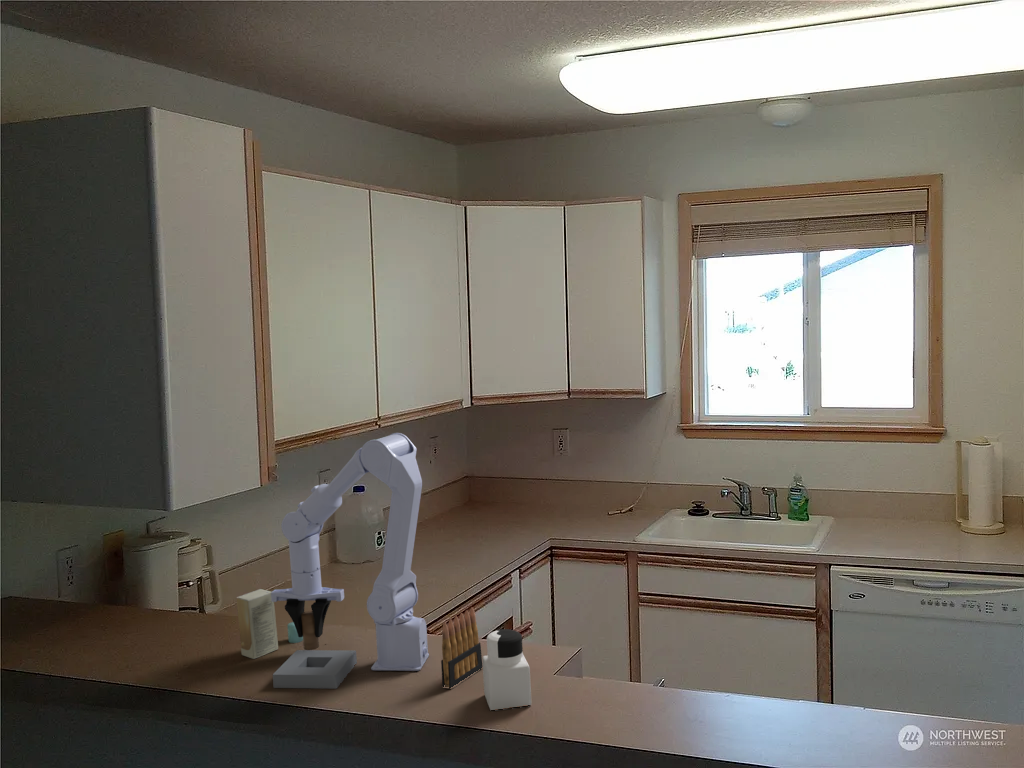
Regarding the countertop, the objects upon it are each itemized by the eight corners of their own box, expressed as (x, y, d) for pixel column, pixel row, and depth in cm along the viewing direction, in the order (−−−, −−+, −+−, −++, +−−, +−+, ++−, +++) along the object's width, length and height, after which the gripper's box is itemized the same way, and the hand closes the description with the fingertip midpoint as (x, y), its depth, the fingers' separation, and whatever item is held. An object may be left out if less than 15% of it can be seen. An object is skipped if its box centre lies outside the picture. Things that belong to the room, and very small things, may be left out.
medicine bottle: (524, 689, 168) (520, 623, 167) (532, 706, 161) (528, 637, 160) (484, 694, 167) (480, 628, 166) (490, 711, 160) (486, 642, 159)
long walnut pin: (321, 644, 192) (318, 610, 191) (315, 650, 189) (313, 615, 188) (306, 644, 193) (304, 610, 192) (301, 650, 190) (299, 615, 189)
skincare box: (266, 645, 196) (261, 587, 195) (279, 649, 194) (274, 591, 193) (239, 655, 192) (235, 596, 190) (252, 660, 189) (248, 600, 188)
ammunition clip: (474, 667, 179) (470, 605, 178) (483, 668, 179) (478, 606, 178) (442, 688, 170) (437, 623, 169) (450, 690, 169) (445, 624, 168)
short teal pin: (305, 637, 200) (304, 621, 200) (300, 643, 197) (299, 626, 197) (291, 637, 200) (290, 621, 200) (286, 642, 197) (285, 626, 197)
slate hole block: (356, 663, 184) (355, 650, 184) (336, 688, 173) (335, 675, 172) (297, 662, 186) (296, 650, 186) (273, 687, 174) (272, 674, 174)
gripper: (347, 563, 192) (351, 628, 193) (278, 563, 194) (283, 628, 196) (335, 573, 185) (340, 641, 187) (264, 574, 187) (270, 640, 189)
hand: (310, 635), depth 191 cm, fingers closed on long walnut pin, 3 cm apart
